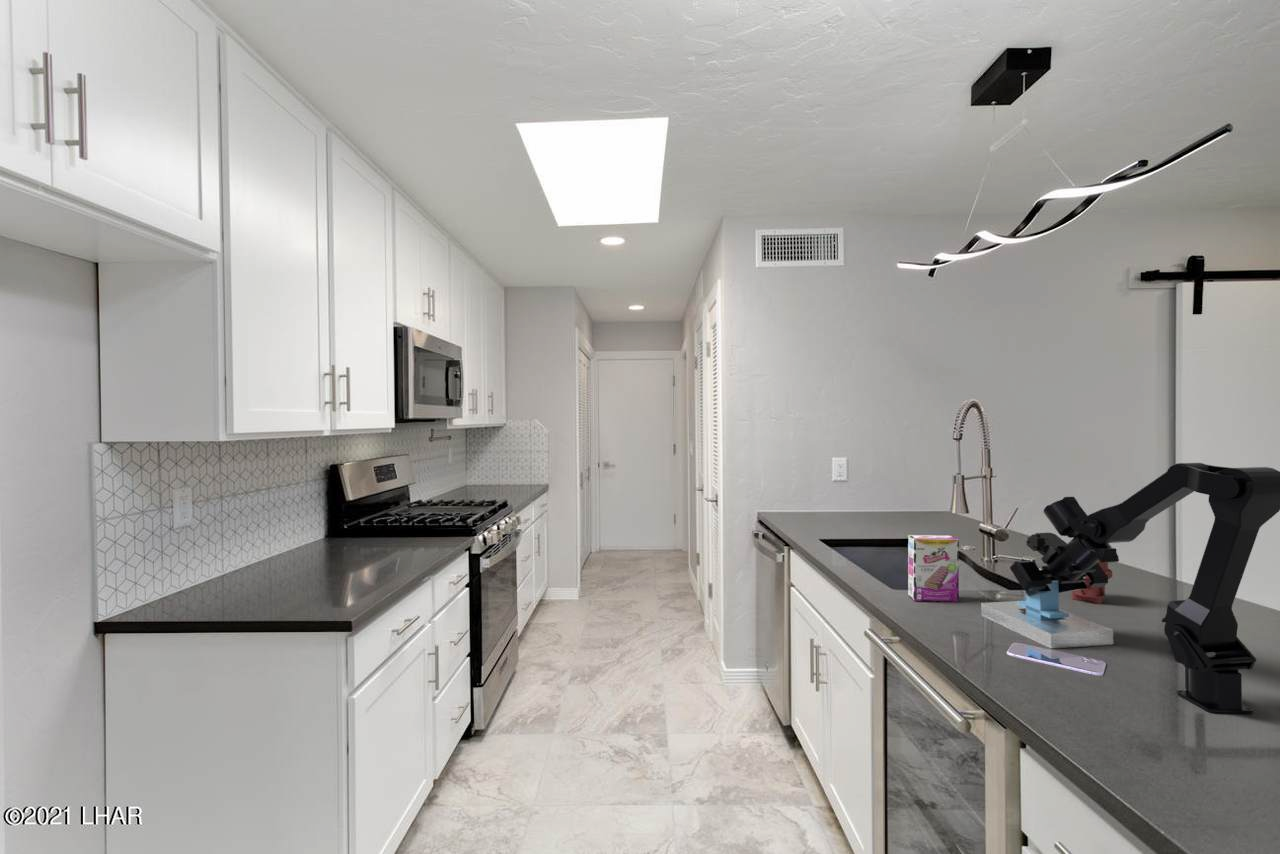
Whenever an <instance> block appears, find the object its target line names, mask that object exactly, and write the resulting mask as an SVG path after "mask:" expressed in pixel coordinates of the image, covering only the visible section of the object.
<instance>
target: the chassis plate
mask: <svg viewBox="0 0 1280 854" xmlns="http://www.w3.org/2000/svg"><path fill="white" fill-rule="evenodd" d="M1019 601H1020V600H1014V601H997V602H981V603H980V605H981V606H980V607H981V608H980V609H981V611H980V614H981V617H983V618H985V619H987V620H989V621H991V622H994V623H996V624H998V625H1000V626H1002V627H1005V628H1007V629H1008V630H1010V631H1013V632H1015V633H1017V634H1018V635H1021V636H1024V637H1025V638H1028V639H1029V640H1032V641H1034V642H1036V643H1038V644H1040V645H1043V646H1045V647H1047V648H1048V649H1050V650H1053V649H1063V648H1064V649H1065V648H1078V647H1079V648H1080V647H1081V648H1082V647H1092V646H1093V647H1094V646H1107V645H1108V646H1109V645H1114V629H1112V628H1109V627H1107V626H1104V625H1102V624H1098V623H1097V622H1093V621H1091V620H1088V619H1086V618H1083V617H1081V616H1078V615H1075V614H1073V613H1070V612H1068V611H1064V610H1062V609H1061V608H1059V610H1061V611H1064V612H1066V613H1069V617H1063V618H1059V620H1047V621H1039V620H1037V619H1034V618H1032V617H1030V616H1027V615H1025V608H1023V607H1021V606H1018V604H1017V602H1019Z"/></svg>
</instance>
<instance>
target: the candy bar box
mask: <svg viewBox="0 0 1280 854" xmlns="http://www.w3.org/2000/svg"><path fill="white" fill-rule="evenodd" d="M907 539H908V540H907V547H908V548H907V564H908V565H907V567H908V568H907V584H908V585H907V595H908V597H909V598H910V597H911V598H910V599H912V601H914V602H936V601H940V602H944V603H945V602H946V603H948V602H949V603H952V602H953V603H959V597H960V595H959V593H960V592H959V591H960V590H959V589H960V586H959V584H960V583H959V581H960V579H959V577H960V572H959V571H960V570H959V569H960V568H959V567H960V565H959V564H960V562H959V561H960V559H959V557H960V549H959V547H960V544H959V543H960V540H959V539H958V538H956V537H954V536H952V535H938V534H937V535H936V534H935V535H934V534H933V535H932V534H930V535H929V534H927V535H925V534H921V535H920V534H908V535H907Z"/></svg>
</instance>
